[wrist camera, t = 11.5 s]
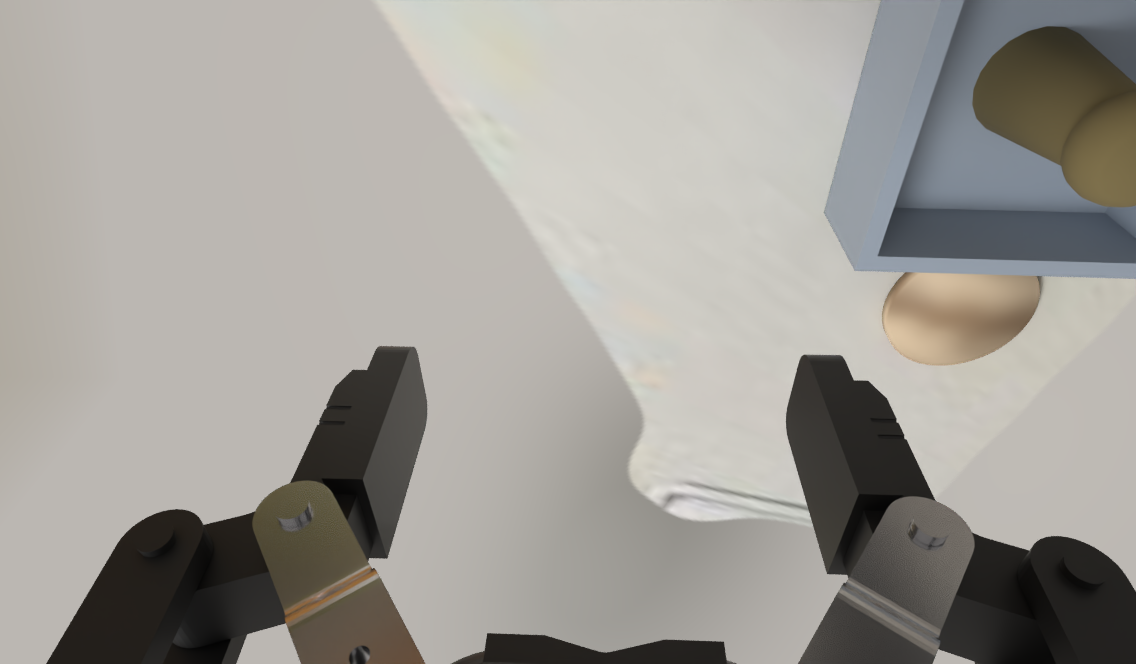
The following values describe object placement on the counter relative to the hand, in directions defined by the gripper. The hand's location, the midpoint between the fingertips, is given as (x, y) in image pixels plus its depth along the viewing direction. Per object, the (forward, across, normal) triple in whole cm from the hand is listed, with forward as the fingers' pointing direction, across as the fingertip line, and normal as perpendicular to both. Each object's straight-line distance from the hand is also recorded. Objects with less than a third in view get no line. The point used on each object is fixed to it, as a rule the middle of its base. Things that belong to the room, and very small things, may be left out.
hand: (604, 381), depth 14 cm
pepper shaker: (+29, -24, +3) cm, 38 cm away
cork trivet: (+30, -26, +19) cm, 44 cm away
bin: (+30, -24, +3) cm, 38 cm away
